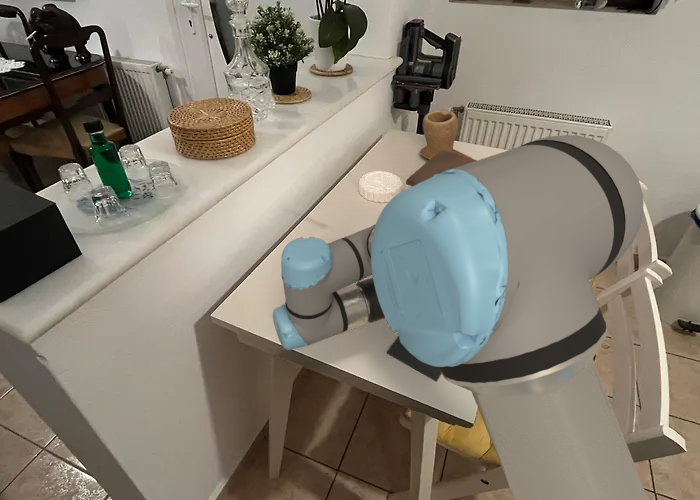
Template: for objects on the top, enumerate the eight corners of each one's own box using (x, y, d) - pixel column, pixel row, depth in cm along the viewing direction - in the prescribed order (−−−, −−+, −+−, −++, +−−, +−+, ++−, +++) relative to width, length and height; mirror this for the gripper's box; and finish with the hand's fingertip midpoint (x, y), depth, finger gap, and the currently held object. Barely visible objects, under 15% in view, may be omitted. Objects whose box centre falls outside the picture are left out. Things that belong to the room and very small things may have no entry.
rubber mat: (460, 343, 80) (460, 342, 80) (436, 381, 73) (436, 380, 73) (413, 319, 84) (413, 317, 84) (386, 353, 78) (386, 352, 78)
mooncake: (409, 188, 121) (410, 177, 118) (388, 208, 113) (389, 196, 111) (372, 175, 126) (373, 164, 123) (350, 194, 118) (350, 182, 116)
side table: (497, 223, 109) (512, 171, 99) (468, 261, 97) (483, 206, 88) (433, 199, 117) (441, 149, 107) (400, 232, 105) (406, 179, 95)
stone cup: (410, 157, 135) (415, 110, 125) (436, 146, 141) (443, 101, 131) (446, 177, 126) (454, 128, 116) (472, 165, 131) (483, 118, 122)
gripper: (339, 282, 85) (437, 252, 93) (386, 358, 71) (496, 316, 79) (339, 253, 80) (442, 224, 88) (390, 329, 67) (507, 287, 74)
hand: (468, 267), depth 83 cm, fingers closed on soda can, 7 cm apart
